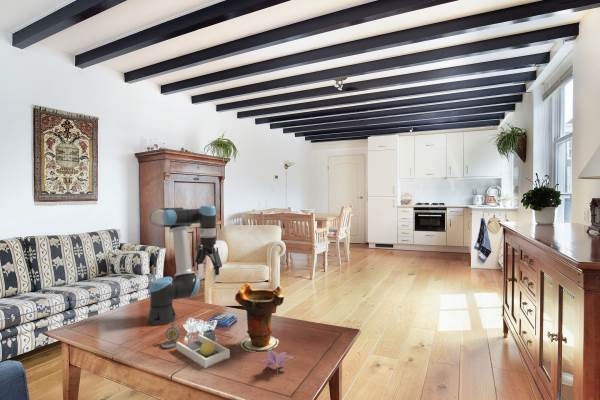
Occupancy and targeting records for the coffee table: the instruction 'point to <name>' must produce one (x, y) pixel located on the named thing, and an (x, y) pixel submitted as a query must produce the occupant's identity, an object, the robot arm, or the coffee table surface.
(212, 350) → the ball
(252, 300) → the decorative vase
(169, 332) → the pocket watch
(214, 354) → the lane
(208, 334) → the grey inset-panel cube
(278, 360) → the lily
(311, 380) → the coffee table surface
